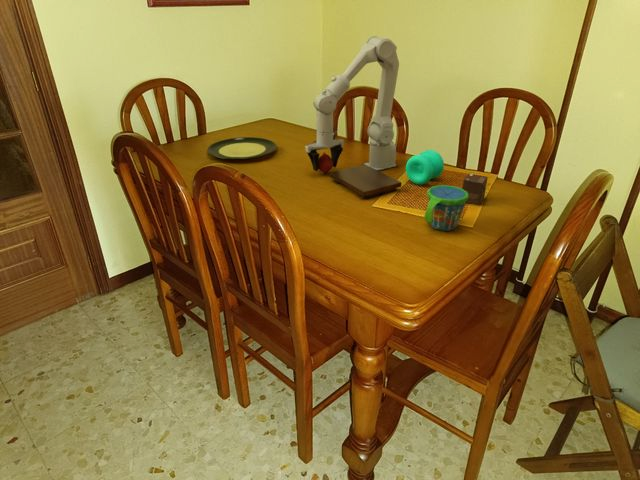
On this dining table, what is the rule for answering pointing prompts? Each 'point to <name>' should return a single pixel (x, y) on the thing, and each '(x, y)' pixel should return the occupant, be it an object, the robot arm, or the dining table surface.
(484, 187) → the box
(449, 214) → the snack cup
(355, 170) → the platform
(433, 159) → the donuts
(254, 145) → the plate
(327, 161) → the onion
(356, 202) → the dining table surface
